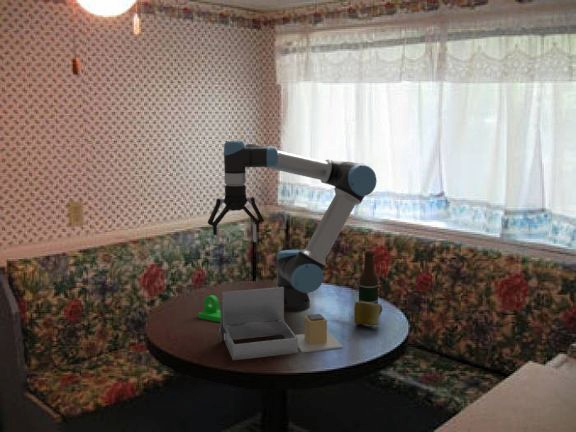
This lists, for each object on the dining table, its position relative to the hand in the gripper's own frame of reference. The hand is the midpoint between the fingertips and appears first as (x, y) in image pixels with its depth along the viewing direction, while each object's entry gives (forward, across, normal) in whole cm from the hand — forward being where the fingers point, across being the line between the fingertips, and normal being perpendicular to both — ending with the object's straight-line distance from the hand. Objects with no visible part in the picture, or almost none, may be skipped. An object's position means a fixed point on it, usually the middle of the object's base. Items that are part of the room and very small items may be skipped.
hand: (236, 242), depth 210 cm
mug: (+31, -45, +19) cm, 58 cm away
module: (+30, -22, +26) cm, 45 cm away
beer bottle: (+31, -52, +1) cm, 60 cm away
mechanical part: (+31, +7, -8) cm, 33 cm away
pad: (+31, -22, +26) cm, 46 cm away
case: (+31, -3, +24) cm, 39 cm away
